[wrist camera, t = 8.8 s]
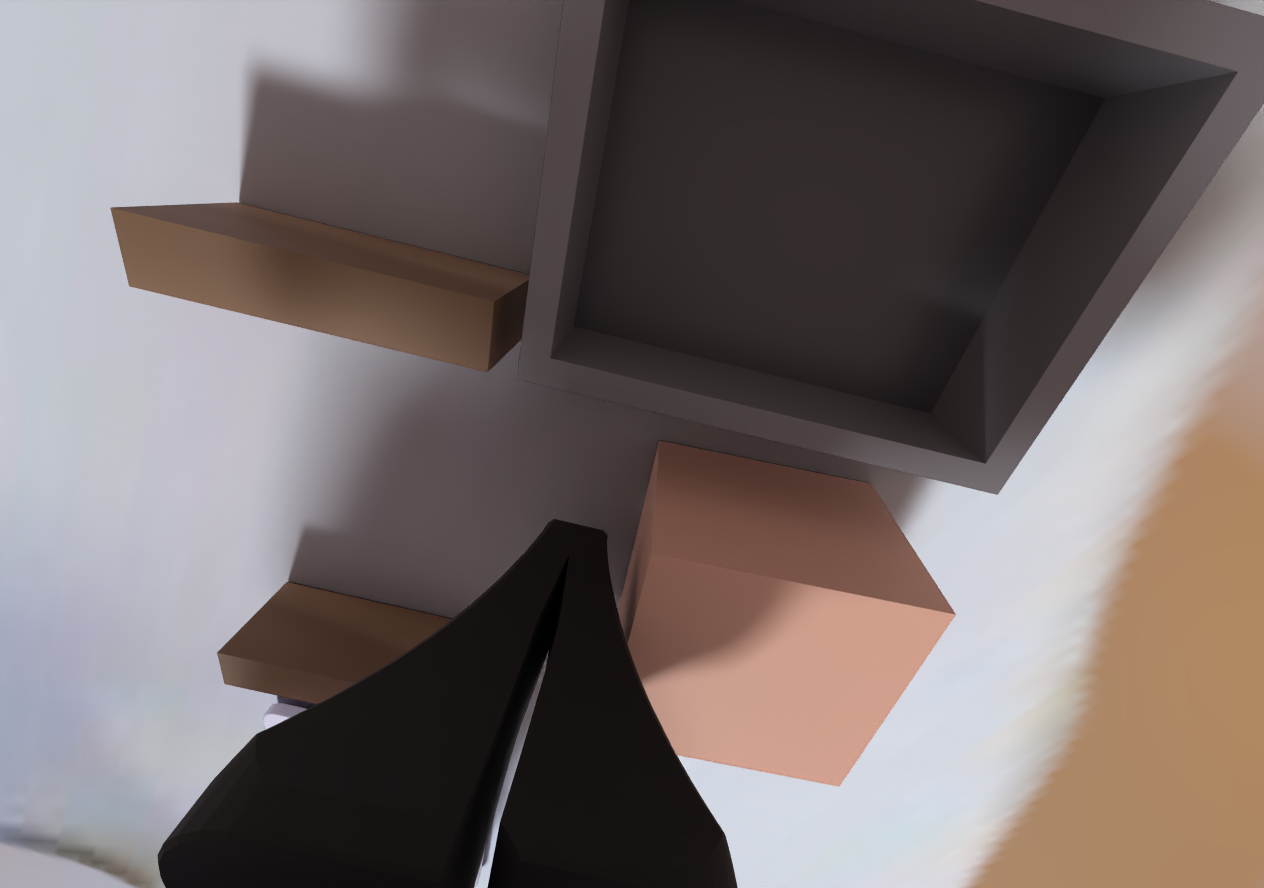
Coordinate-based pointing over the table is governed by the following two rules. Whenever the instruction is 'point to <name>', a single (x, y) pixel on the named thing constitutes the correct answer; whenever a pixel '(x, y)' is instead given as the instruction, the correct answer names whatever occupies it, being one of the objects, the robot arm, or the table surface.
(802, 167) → the box
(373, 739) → the robot arm
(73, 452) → the table surface
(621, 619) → the terracotta block
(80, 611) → the table surface
